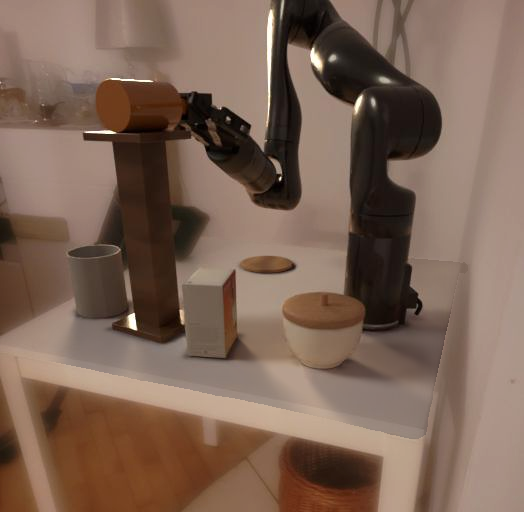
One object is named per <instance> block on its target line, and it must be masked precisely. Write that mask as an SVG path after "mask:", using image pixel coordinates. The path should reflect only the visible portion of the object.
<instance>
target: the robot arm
mask: <svg viewBox="0 0 524 512" xmlns="http://www.w3.org/2000/svg"><path fill="white" fill-rule="evenodd" d="M266 29H267V31H266V32H267V33H266V34H267V35H266V36H267V37H266V39H267V41H266V43H267V44H266V45H267V47H266V49H267V114H266V123H265V132H264V140H263V141H264V142H263V149H262V148H261V146H260V144H259V143H258V142H257V141H256V140H255V139H254V138H253V137H252V136H251V135H250V134H251V130H252V124H251V123H249V122H248V121H246V120H245V119H244V118H242V117H241V116H240V115H238V114H237V113H235V112H234V111H233V110H231V109H229V107H227V106H221V107H220V108H218V107H217V106H216V104H213V103H212V104H209V103H208V102H207V101H206V100H205V99H204V98H203V97H202V96H201V95H200V94H199V93H200V92H198V91H197V90H195V91H194V90H193V91H190V93H191V94H190V98H189V101H188V105H189V107H190V108H191V109H193V110H194V111H195V112H196V113H197V114H198V115H199V116H200V117H201V118H202V119H205V122H206V123H200V124H178V125H177V126H176V127H174V128H173V129H172V130H179V131H191V137H193V138H194V139H195V140H196V141H197V142H198V143H200V144H201V145H203V146H204V147H203V148H204V150H205V153H206V156H207V158H208V159H209V160H210V161H211V163H213V164H214V165H215V166H216V167H218V168H219V169H220V170H221V171H223V172H224V173H225V174H226V175H227V176H228V177H230V178H231V179H233V180H234V181H235V182H237V183H238V184H240V185H241V186H242V187H243V188H244V189H245V192H246V193H247V195H248V197H249V199H250V201H251V203H252V204H253V205H255V206H257V207H259V208H261V209H266V210H267V209H268V210H277V211H285V212H290V211H293V210H295V209H296V208H297V207H298V205H299V204H300V202H301V200H302V196H303V195H302V194H303V184H302V178H301V177H302V176H301V170H300V158H299V150H300V142H301V133H302V126H303V113H302V107H301V106H302V105H301V102H300V100H299V96H298V93H297V90H296V88H295V85H294V82H293V79H292V74H291V70H290V67H289V59H288V46H289V45H290V46H293V47H297V48H301V49H304V50H307V51H310V56H309V60H310V61H309V62H310V68H311V72H312V74H313V76H314V78H315V79H316V81H317V82H318V83H319V84H320V86H321V87H322V88H323V89H324V91H325V92H326V93H327V94H328V95H329V96H330V97H332V98H333V99H334V100H336V101H338V102H340V103H342V104H344V105H346V106H348V107H351V108H353V110H352V113H351V114H352V115H351V122H350V137H349V138H350V140H349V141H350V142H349V144H350V146H349V147H350V149H349V153H350V154H349V178H348V183H349V184H348V185H349V186H348V187H349V188H348V189H349V196H350V197H349V198H350V203H349V204H350V205H349V215H348V230H347V231H348V232H347V243H346V244H347V245H346V256H345V257H346V258H345V271H344V272H345V273H344V283H343V284H344V285H343V295H346V296H350V297H353V298H355V299H357V300H359V301H360V302H361V303H362V304H363V305H364V306H365V317H364V320H363V328H362V330H371V331H383V330H390V329H394V328H396V327H398V326H404V325H405V323H406V318H407V310H414V309H415V311H414V312H413V315H415V316H419V315H420V314H421V312H422V310H423V307H424V305H423V301H422V300H421V299H420V298H419V292H418V291H416V290H415V289H414V288H413V287H412V286H411V280H412V275H413V266H412V264H411V263H409V255H410V248H411V240H412V234H413V232H412V231H413V225H414V217H415V211H416V205H417V195H416V192H415V191H414V190H413V189H411V188H409V187H406V186H404V185H401V184H398V183H396V182H394V180H392V179H391V178H390V176H389V174H388V162H395V161H397V162H398V161H399V162H400V161H411V160H412V161H413V160H416V159H419V158H422V157H424V156H426V155H428V154H429V153H430V152H432V150H434V148H435V147H436V145H437V144H438V143H439V141H440V138H441V135H442V131H443V115H442V110H441V107H440V104H439V102H438V100H437V98H436V96H435V94H434V93H433V92H432V91H431V90H430V89H429V88H427V87H426V86H424V85H423V84H421V83H419V82H418V81H416V80H414V79H413V78H411V77H410V76H408V75H407V74H405V73H403V72H402V71H401V70H400V69H398V68H396V67H395V66H394V65H393V64H392V63H391V62H390V61H389V60H388V59H387V58H386V57H385V56H384V55H383V54H382V53H380V52H379V51H378V49H376V48H375V47H374V46H373V45H372V44H371V43H370V42H369V40H367V39H366V38H365V37H364V35H362V34H361V32H359V31H358V30H357V29H355V28H354V27H353V26H352V25H351V24H349V22H347V21H346V20H344V19H343V18H342V17H341V16H340V14H339V12H338V10H337V9H336V7H335V6H334V4H333V3H332V2H331V0H270V4H269V8H268V15H267V27H266ZM227 118H229V119H227ZM186 140H187V139H182V141H186ZM273 161H274V162H277V163H278V164H279V166H280V170H281V173H278V172H277V168H276V165H275V164H274V162H273Z"/></svg>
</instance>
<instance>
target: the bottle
mask: <svg viewBox="0 0 524 512" xmlns="http://www.w3.org/2000/svg"><path fill="white" fill-rule="evenodd" d="M179 93H180V92H179V91H178V89H177V88H176V87H175V86H174V85H173V84H171V83H170V82H167V81H155V80H137V79H121V78H106V79H104V80H103V81H101V82H100V84H99V85H98V86H97V89H96V91H95V98H94V99H95V100H94V103H95V105H94V106H95V110H96V114H97V117H98V119H99V121H100V124H102V125H103V127H104V128H105V129H106V130H107V131H111V132H114V133H121V132H139V131H156V130H174V129H173V128H174V127H176V126H177V125H178V123H179V121H180V119H181V116H182V115H188V107H187V97H180V95H179Z"/></svg>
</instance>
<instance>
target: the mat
mask: <svg viewBox="0 0 524 512" xmlns="http://www.w3.org/2000/svg"><path fill="white" fill-rule="evenodd" d="M241 268H243V269H244V270H246V271H249V272H253V273H261V274H271V273H272V274H273V273H282V272H286V271H289V270H290V269H292V268H293V261H292V260H291V259H289V258H287V257H284V256H283V257H282V256H279V255H256V256H251V257H247V258H245V259H243V260H242V261H241Z"/></svg>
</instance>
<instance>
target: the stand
mask: <svg viewBox="0 0 524 512" xmlns="http://www.w3.org/2000/svg"><path fill="white" fill-rule="evenodd" d="M82 139H83V141H85V142H103V143H104V142H105V143H106V142H108V143H111V144H112V152H113V160H114V168H115V176H116V183H117V191H118V198H119V199H118V200H119V207H120V214H121V223H122V230H123V237H124V243H125V244H124V245H125V252H126V260H127V261H126V262H127V268H128V276H129V282H130V284H129V285H130V291H131V300H132V307H133V313H131V314H129V315H127V316H124V317H123V318H120V319H118V320H116V321H114V322H111V329H112V330H113V331H118V332H121V333H125V334H128V335H132V336H136V337H140V338H142V339H146V340H150V341H153V342H157V343H160V344H163V343H165V342H166V341H168V340H170V339H172V338H174V337H175V336H178V335H179V334H180V333H182V332H185V321H184V309H181V308H180V298H179V297H180V296H179V286H178V275H177V274H178V273H177V263H176V262H177V261H176V250H175V237H174V226H173V214H172V213H173V212H172V203H171V201H172V200H171V191H170V179H169V168H168V167H169V166H168V157H167V156H168V155H167V143H166V142H169V141H170V142H171V141H181V140H182V141H183V139H186V140H192V136H191V131H179V130H174V129H170V130H156V131H139V132H121V133H114V132H111V131H109V130H99V131H82Z"/></svg>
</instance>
